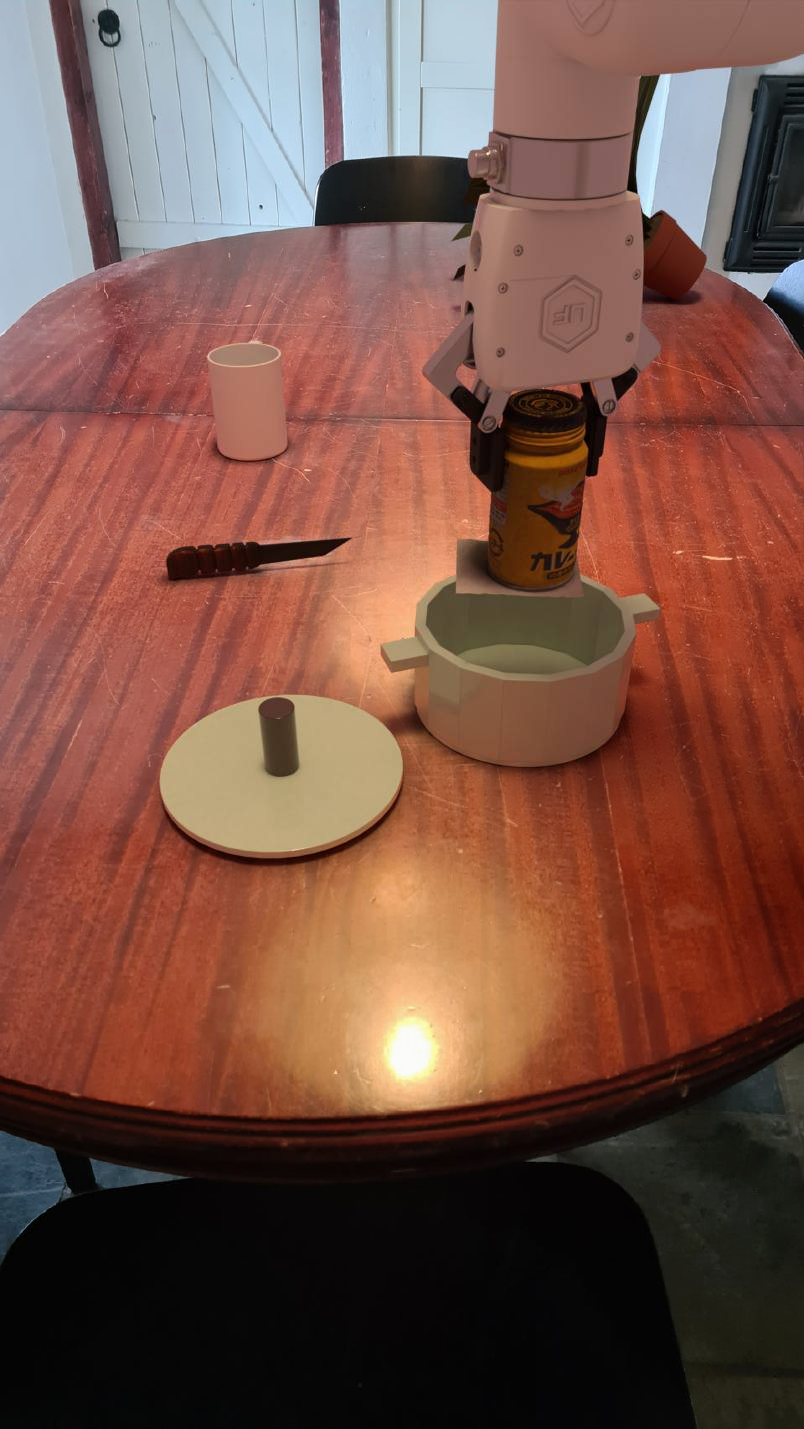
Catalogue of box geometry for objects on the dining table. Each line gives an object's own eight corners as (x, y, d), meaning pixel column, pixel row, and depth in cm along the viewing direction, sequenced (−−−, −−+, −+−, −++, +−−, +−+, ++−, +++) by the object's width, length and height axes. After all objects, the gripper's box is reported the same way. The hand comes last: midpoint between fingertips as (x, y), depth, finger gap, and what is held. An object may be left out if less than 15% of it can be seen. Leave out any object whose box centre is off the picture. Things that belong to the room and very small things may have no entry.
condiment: (583, 599, 68) (605, 424, 61) (455, 595, 69) (461, 421, 61) (574, 546, 74) (593, 380, 67) (456, 543, 74) (462, 378, 67)
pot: (693, 733, 75) (711, 647, 71) (422, 796, 70) (423, 708, 65) (594, 624, 87) (604, 545, 83) (356, 671, 82) (352, 589, 77)
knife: (353, 561, 96) (351, 532, 94) (354, 565, 95) (353, 536, 93) (169, 576, 94) (164, 546, 92) (168, 581, 93) (164, 551, 91)
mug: (283, 462, 114) (275, 367, 107) (212, 461, 114) (200, 366, 108) (296, 420, 123) (290, 330, 117) (230, 419, 124) (221, 330, 117)
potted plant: (737, 137, 170) (525, -31, 158) (862, 94, 134) (599, -127, 122) (585, 383, 182) (377, 245, 170) (662, 404, 146) (405, 231, 134)
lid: (437, 830, 67) (439, 757, 64) (183, 892, 63) (168, 817, 59) (362, 689, 80) (360, 621, 76) (146, 733, 76) (132, 663, 72)
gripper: (435, 192, 51) (430, 521, 62) (734, 170, 56) (681, 480, 67) (388, 166, 57) (391, 472, 68) (663, 147, 61) (625, 437, 72)
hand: (535, 473), depth 67 cm, fingers closed on condiment, 6 cm apart
